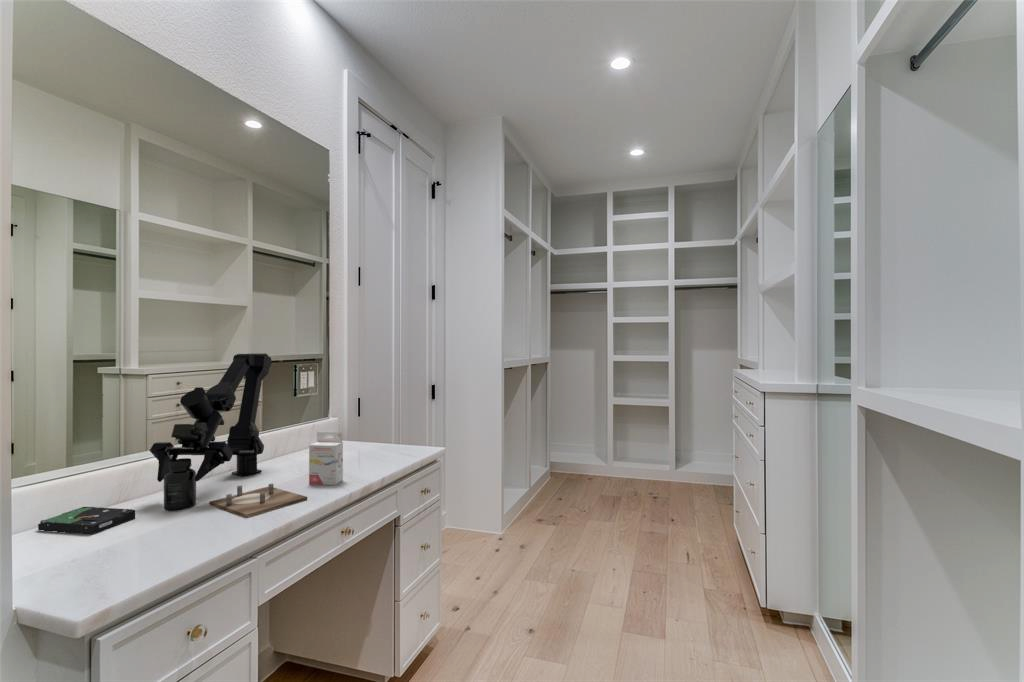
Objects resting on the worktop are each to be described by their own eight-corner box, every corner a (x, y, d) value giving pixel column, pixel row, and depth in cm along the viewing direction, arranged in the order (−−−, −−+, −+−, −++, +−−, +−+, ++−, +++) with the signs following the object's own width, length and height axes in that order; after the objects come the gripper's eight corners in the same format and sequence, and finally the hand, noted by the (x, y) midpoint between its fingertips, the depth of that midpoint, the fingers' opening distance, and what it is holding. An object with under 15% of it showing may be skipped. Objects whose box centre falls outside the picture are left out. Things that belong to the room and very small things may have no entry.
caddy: (209, 504, 126) (209, 491, 126) (269, 489, 139) (268, 477, 139) (246, 517, 116) (246, 503, 116) (307, 499, 129) (307, 487, 129)
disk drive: (136, 520, 117) (83, 517, 119) (136, 509, 117) (83, 505, 119) (93, 538, 106) (36, 533, 109) (93, 525, 106) (36, 520, 109)
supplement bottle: (202, 504, 126) (202, 458, 126) (176, 513, 120) (176, 464, 120) (183, 502, 128) (183, 456, 128) (156, 510, 122) (156, 462, 122)
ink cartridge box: (308, 484, 144) (307, 434, 144) (316, 479, 149) (316, 431, 149) (336, 485, 143) (335, 434, 143) (343, 480, 148) (343, 431, 148)
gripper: (154, 411, 128) (122, 464, 117) (226, 410, 129) (201, 462, 118) (174, 436, 136) (145, 487, 125) (242, 435, 137) (220, 486, 125)
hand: (177, 480), depth 123 cm, fingers open, 9 cm apart
